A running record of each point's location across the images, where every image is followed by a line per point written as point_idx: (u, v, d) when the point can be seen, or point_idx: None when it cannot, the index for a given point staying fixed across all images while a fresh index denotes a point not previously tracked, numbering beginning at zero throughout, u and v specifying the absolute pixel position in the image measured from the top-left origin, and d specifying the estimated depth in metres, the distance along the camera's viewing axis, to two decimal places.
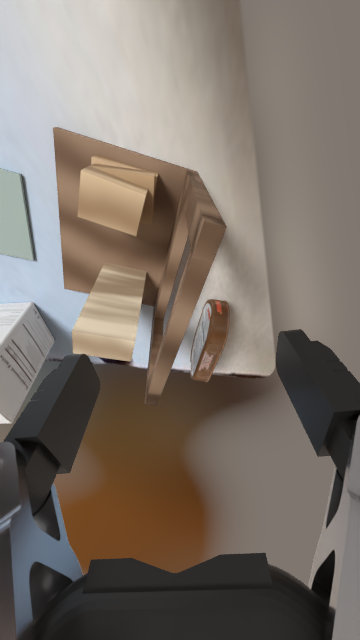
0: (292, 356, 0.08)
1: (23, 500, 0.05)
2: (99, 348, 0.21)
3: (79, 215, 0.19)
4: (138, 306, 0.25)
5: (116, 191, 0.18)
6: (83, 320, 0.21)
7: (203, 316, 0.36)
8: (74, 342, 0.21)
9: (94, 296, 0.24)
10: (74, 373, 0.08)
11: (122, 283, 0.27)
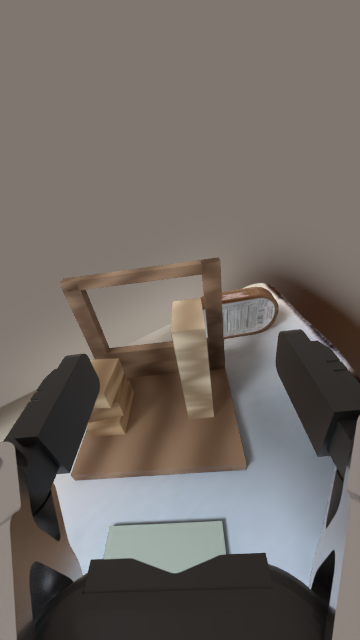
0: (292, 356, 0.08)
1: (23, 500, 0.05)
2: (190, 315, 0.22)
3: (102, 392, 0.23)
4: None
5: None
6: None
7: None
8: (187, 329, 0.20)
9: None
10: (74, 373, 0.08)
11: None
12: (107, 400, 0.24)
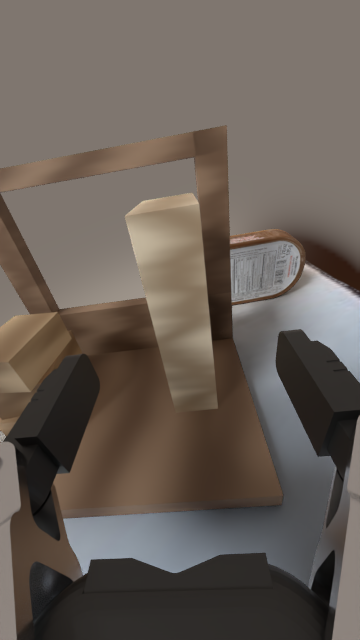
0: (292, 356, 0.08)
1: (23, 500, 0.05)
2: (169, 202, 0.11)
3: (7, 360, 0.12)
4: None
5: None
6: None
7: None
8: (160, 209, 0.09)
9: None
10: (74, 373, 0.08)
11: None
12: (21, 377, 0.13)
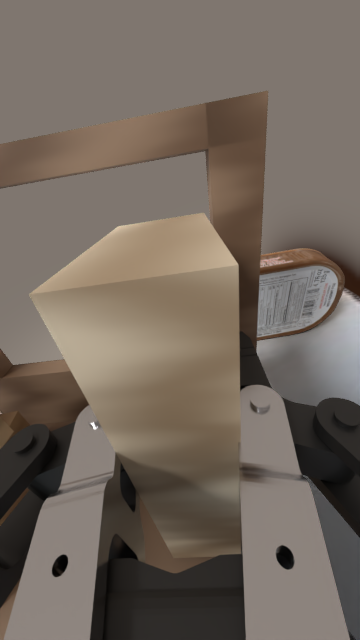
0: None
1: (116, 466, 0.05)
2: (161, 238, 0.05)
3: None
4: None
5: None
6: None
7: None
8: (127, 276, 0.03)
9: None
10: None
11: None
12: None
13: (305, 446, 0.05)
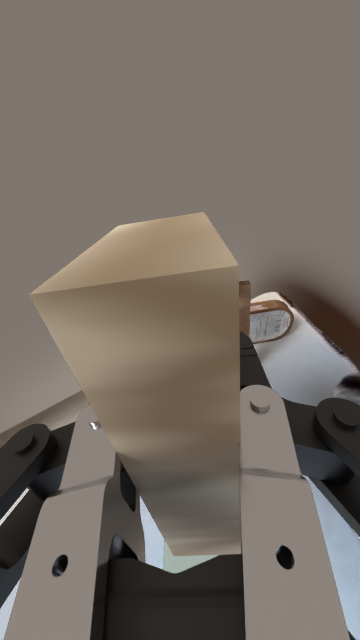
0: None
1: (116, 466, 0.05)
2: (161, 238, 0.05)
3: None
4: None
5: None
6: None
7: None
8: (127, 277, 0.03)
9: None
10: None
11: None
12: None
13: (306, 446, 0.05)
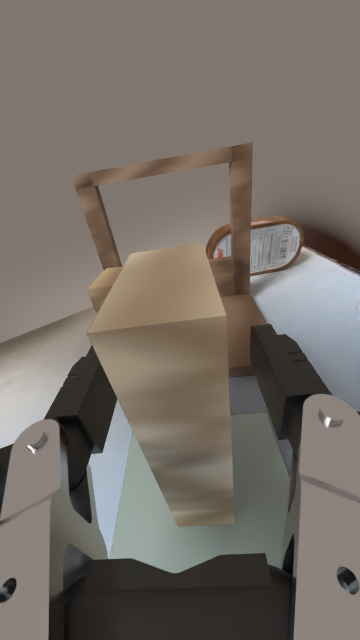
0: (259, 348, 0.08)
1: (63, 480, 0.05)
2: (170, 277, 0.07)
3: None
4: None
5: (103, 276, 0.23)
6: None
7: None
8: (152, 320, 0.05)
9: None
10: None
11: None
12: None
13: None
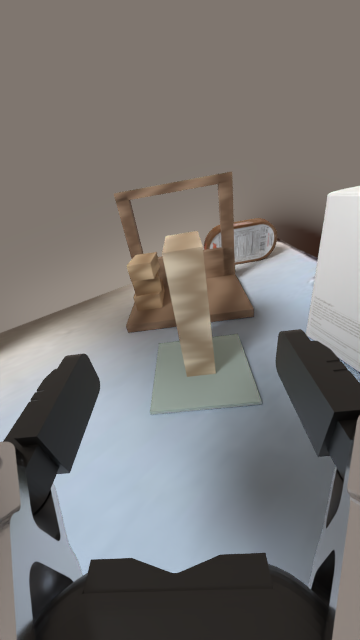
0: (292, 356, 0.08)
1: (23, 500, 0.05)
2: (185, 241, 0.19)
3: (149, 262, 0.32)
4: None
5: (134, 259, 0.35)
6: None
7: None
8: (181, 249, 0.17)
9: None
10: (74, 373, 0.08)
11: None
12: (152, 271, 0.33)
13: None
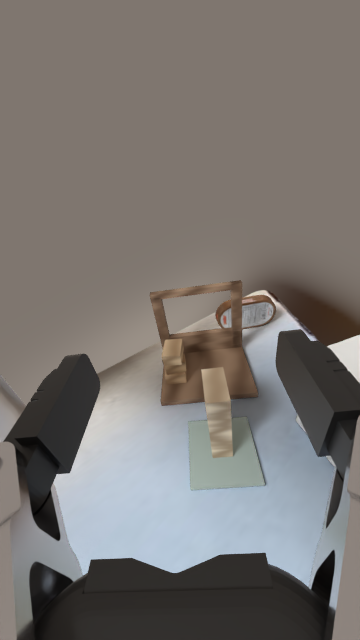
0: (292, 356, 0.08)
1: (23, 500, 0.05)
2: (217, 385, 0.29)
3: (179, 355, 0.42)
4: None
5: (166, 346, 0.45)
6: None
7: None
8: (217, 401, 0.27)
9: None
10: (74, 373, 0.08)
11: None
12: (180, 360, 0.43)
13: None
